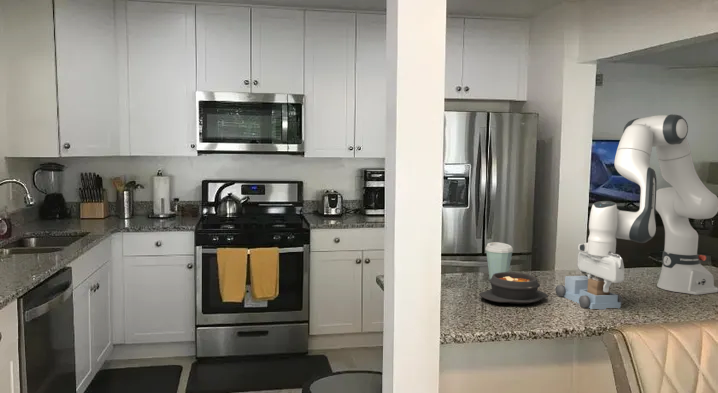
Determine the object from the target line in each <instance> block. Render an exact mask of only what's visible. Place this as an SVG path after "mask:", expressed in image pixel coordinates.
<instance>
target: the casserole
mask: <svg viewBox="0 0 718 393" xmlns="http://www.w3.org/2000/svg"><path fill="white" fill-rule="evenodd" d="M489 283H490V285H491V286H490V287H491V288H490V289H488V290H485V291H481V292H479V293H478V295H479V296H480V297H481V298H483V299H484V300H488V301H490V302H494V303H504V304H511V305H526V304H530V303H531V304H532V303H536V302H538V301H541V300H543V299H546V298H548V297H549V295H548V294H547V293H546V292H543V291H541V290H538V288H539V287H540V283H539V282H538V278H537V277H535V276H533V275H531V274H527V273H521V272H515V271H514V272H513V271H509V272H501V273H495V274H493V276H492V278H491V279H490V278H489Z"/></svg>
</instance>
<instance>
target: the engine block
mask: <svg viewBox="0 0 718 393" xmlns="http://www.w3.org/2000/svg"><path fill="white" fill-rule="evenodd" d="M604 284H605V282H604V279H603V278H600V277H597V276H595V277H593V278H590V279H588V289H587V292H589V293H591V294H594V295H596V296H597V295H610V292H611V286H610V287H609V292H603V291H602V290H601V289H602V286H604Z"/></svg>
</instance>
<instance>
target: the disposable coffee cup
mask: <svg viewBox="0 0 718 393" xmlns="http://www.w3.org/2000/svg"><path fill="white" fill-rule="evenodd" d="M486 244H487V245H486V246H485V249H484V250H485V251H486V261H487V268H488V270H487V271H488V277H489V280H490V279H491V278H492V276H493V274H495V273H501V272H510V267H511V263H512V262H511V261H512V255H513V251H514V248H513V247H512V245H510V244H508V243H505V242H499V241H495V242H494V241H493V242H488V243H486Z"/></svg>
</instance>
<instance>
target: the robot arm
mask: <svg viewBox="0 0 718 393" xmlns="http://www.w3.org/2000/svg"><path fill="white" fill-rule="evenodd" d="M688 132H689V124H688V122H687V120H686V119H685V118H684V117H683V116H682V115H679V114H673V113H672V114H668V115H667V114H663V115H662V114H658V115H651V116H645V117H640V118H639V117H638V118H634V119H631V120H629V121H627V122H626V124H625V125H624V128H623V130H622V135H621V137H620V140H619V143H618V146H617V149H616V153H615V157H614V162H613V164H614V168H615V170H616V171H617V173H618V174H619V175H621V176H622V177H624V178H625V179H627V180H628V181H631V182H632V183H635V184H637V185H638V186H639V187H640V198H639V199H640V200H639V209H638V210H637V211H627V210H620V209H619V208H618V205H617V203H616V202H614V201H611V200H602V201H595V202H594V203H593V204H592V206H591V209H590V213H589V218H588V219H589V220H588V229H589V235H588V238H587V242H585V243H579V244H578V246H577V249H578V253H577V268H578V270H579V271H580V272H581V271H584V272H586V273H587V275H588V279H590V278H593V277H600V278H603V279H604V282H605V284H604V286H602V289H601V290H602V291H603V292H609V287H610V288H611V285H612V284H613V283H614V284H617V283H623V282H624V281H625V266H624V265H625V264H624V260H623V258H622V257H621V255H620V254H618V253H616V251H617V249H616V248H617V239H620V240H627V241H632V242H635V243H639V244H645V243H647V242H648V241H650V240H652V239H653V238H654V237H655V235H656V232H657V230H656V229H657V227H656V226H657V222H656V221H657V219H656V212H657V213H658V214H659V216H660V218H661V220H662V221H661V222H662V224H663V227H664V247H663V248H664V250H663V251H662V257H661V258H662V259H661V260H662V265H661V269H660V273H659V279H658V281H657V284H656V287H658V288H659V289H662V290H664V291H670V292H675V293H684V294H689V295H695V296H697V295H705V294H706V295H707V294H713V293H718V286H716V285H715V278H714V275H713V274H712V272H710V271H709V270H708V269H707V268H706V267H704V266H703V265H702V264H701V261H703V262H704V261H706V260H707V256H706V255H704V254H700V255H699V254H698V248H699V233H698V232H697V230H696V229H694V228H693V226H692V224H691V223H690V221H689V220H690V219H695V220H707V219H712V218H713V217H715V216H716V215H717V214H718V196H717V195H716V194H715V193H713V192H712V191H710V189H709V188H707V187H706V185H705V184H704V183H703V182H702V180H701V179H700V177H699V175H698V173H697V170H696V168H695V165H694V161H693V157H692V151H691V147H690V145H689V142H688V139H687V135H688ZM654 147H655V150H656V156H657V161H658V166H659V169H660V174H661V177H662V179H663V180H664V181H666V182H667V183H668V184H669V185H670V186H669V187H663V188H662V187H661V188H659V189H657V182H658V181H657V174H656V171H655V170H654V169H653V168H652V167H651V164H650V161H651V160H650V159H651V156H652V149H653V148H654Z"/></svg>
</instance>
